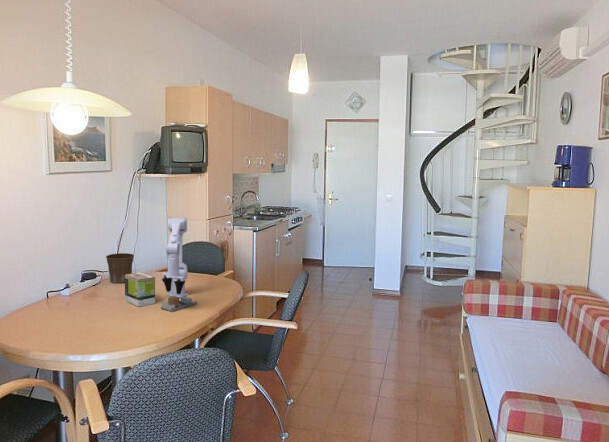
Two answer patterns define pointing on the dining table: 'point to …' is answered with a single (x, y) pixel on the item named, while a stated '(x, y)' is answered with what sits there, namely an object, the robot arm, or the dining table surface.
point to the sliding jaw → (186, 300)
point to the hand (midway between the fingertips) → (173, 292)
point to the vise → (171, 307)
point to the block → (174, 300)
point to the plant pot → (119, 266)
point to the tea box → (140, 289)
